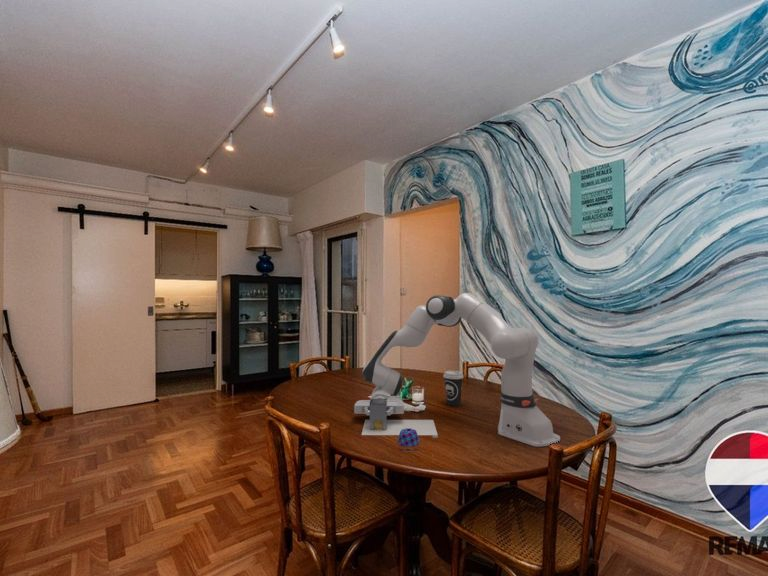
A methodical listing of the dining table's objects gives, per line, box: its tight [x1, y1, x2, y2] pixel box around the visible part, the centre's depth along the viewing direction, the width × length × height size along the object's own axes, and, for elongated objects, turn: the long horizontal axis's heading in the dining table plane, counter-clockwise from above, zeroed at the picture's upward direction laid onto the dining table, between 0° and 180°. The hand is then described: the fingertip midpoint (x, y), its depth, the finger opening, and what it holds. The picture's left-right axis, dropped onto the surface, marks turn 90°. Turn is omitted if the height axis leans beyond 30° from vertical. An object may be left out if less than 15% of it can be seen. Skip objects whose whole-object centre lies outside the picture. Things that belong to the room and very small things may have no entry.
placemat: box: [361, 419, 439, 439], centre depth 140 cm, size 28×16×1 cm, turn 88°
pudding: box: [397, 428, 422, 452], centre depth 125 cm, size 12×12×5 cm
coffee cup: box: [442, 370, 464, 407], centre depth 171 cm, size 10×10×15 cm
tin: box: [369, 399, 388, 430], centre depth 140 cm, size 6×6×10 cm
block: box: [374, 420, 383, 429], centre depth 140 cm, size 4×4×4 cm
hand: (378, 413), depth 139 cm, fingers closed on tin, 6 cm apart
